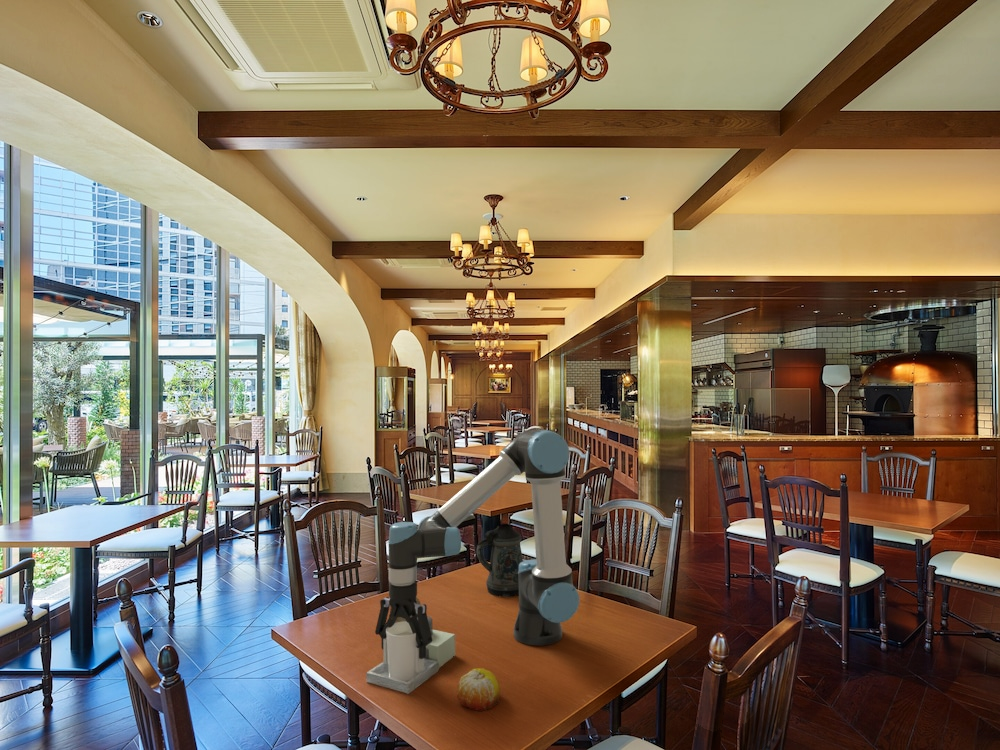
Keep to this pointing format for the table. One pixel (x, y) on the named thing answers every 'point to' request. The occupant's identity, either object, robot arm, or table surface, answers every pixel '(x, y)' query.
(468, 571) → the table surface
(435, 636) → the push-button box
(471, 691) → the fruit
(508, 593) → the beer stein
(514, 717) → the table surface
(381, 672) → the gray square tray
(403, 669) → the candle holder
